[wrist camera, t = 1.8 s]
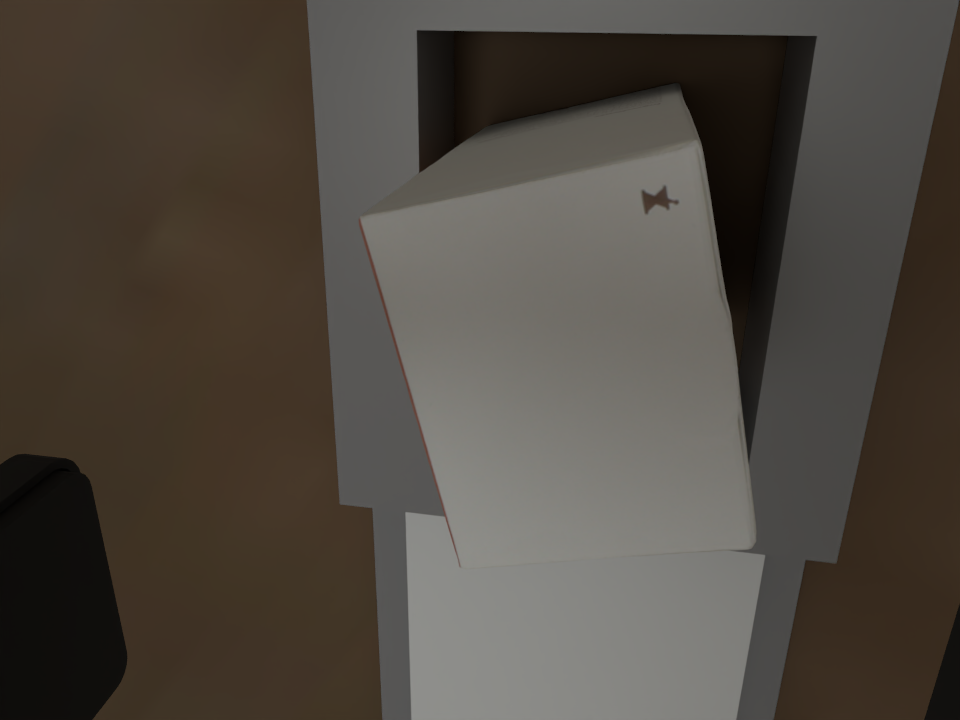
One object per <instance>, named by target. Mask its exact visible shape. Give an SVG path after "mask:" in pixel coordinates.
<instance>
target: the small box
mask: <svg viewBox="0 0 960 720" xmlns="http://www.w3.org/2000/svg"><path fill="white" fill-rule="evenodd" d="M359 226H360V230H361V233H362V237H363V240H364V243H365V247H366V250H367V254H368V257H369V260H370V264H371V267H372V271H373V274H374V277H375V281H376V284H377V287H378V290H379V294H380V297H381V300H382V304H383V307H384V311H385V314H386V318H387V321H388V325H389V328H390V332H391V335H392V338H393V342H394V345H395V349H396V352H397V356H398V359H399V363H400V366H401V369H402V372H403V376H404V379H405V382H406V385H407V388H408V392H409V396H410V400H411V404H412V407H413V411H414V414H415V417H416V420H417V423H418V426H419V430H420V434H421V438H422V442H423V445H424V448H425V452H426V455H427V458H428V462H429V465H430V467H431V471H432V474H433V478H434V482H435V485H436V488H437V492H438V495H439V498H440V502H441V505H442V508H443V512H444V515H445V519H446V522H447V525H448V529H449V532H450V536H451V539H452V542H453V546H454V549H455V552H456V555H457V558H458V563H459V567H461V568H463V569H478V568H490V567H504V566H517V565H528V564H540V563H554V562H567V561H580V560H592V559H605V558H617V557H633V556H649V555H664V554H680V553H696V552H712V551H729V550H748V549H752V548H753V546H754V544H755V543H756V520H755V512H754V503H753V495H752V487H751V478H750V470H749V462H748V453H747V445H746V437H745V429H744V420H743V412H742V403H741V395H740V386H739V377H738V367H737V358H736V351H735V344H734V337H733V329H732V319H731V314H730V310H729V306H728V302H727V298H726V292H725V286H724V280H723V275H722V268H721V262H720V255H719V249H718V242H717V236H716V229H715V223H714V216H713V209H712V203H711V196H710V190H709V184H708V178H707V172H706V165H705V159H704V153H703V149H702V144H701V141H700V138H699V136H698V133H697V130H696V128H695V125H694V123H693V119H692V117H691V114H690V112H689V110H688V108H687V106H686V104H685V102H684V99H683V95H682V91H681V87H680V84H679V83H673V84H669V85H664V86H660V87H655V88H651V89H647V90H642V91H638V92H634V93H629V94H625V95H621V96H616V97H612V98H608V99H603V100H599V101H595V102H590V103H586V104H582V105H577V106H573V107H569V108H564V109H560V110H555V111H551V112H546V113H542V114H537V115H533V116H528V117H524V118H519V119H515V120H510V121H506V122H502V123H497V124H493V125H489V126H486V127H485V128H483V129H482V130H481V131H479V132H478V133H476V134H475V135H473V136H472V137H470V138H469V139H467V140H466V141H464V142H463V143H461V144H460V145H458V146H457V147H455V148H454V149H453V150H451V151H450V152H449V153H447V154H446V155H444V156H443V157H442V158H441V159H439V160H438V161H436V162H435V163H434V164H432V165H430V166H429V167H427V168H426V169H425V170H423V171H422V172H420V173H419V174H417V175H416V176H415V177H413V178H412V179H411V180H410V181H408V182H407V183H406V184H404V185H403V186H401V187H400V188H399V189H397V190H396V191H394V192H393V193H391V194H390V195H388V196H387V197H386V198H384V199H383V200H382V201H380V202H379V203H378V204H376V205H375V206H373V207H372V208H371V209H369V210H368V211H367V212H366V213H364V214H363V215H362V216H360V218H359Z"/></svg>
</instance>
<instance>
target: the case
mask: <svg viewBox="0 0 960 720" xmlns="http://www.w3.org/2000/svg"><path fill="white" fill-rule="evenodd" d="M958 4H959V0H307V9H308V25H309V40H310V55H311V70H312V86H313V101H314V116H315V132H316V147H317V162H318V178H319V193H320V208H321V223H322V239H323V254H324V269H325V285H326V300H327V315H328V330H329V346H330V361H331V376H332V392H333V407H334V422H335V437H336V453H337V468H338V483H339V499H340V504H342V505H351V506H359V507H367V508H373V528H374V549H375V570H376V591H377V612H378V634H379V655H380V676H381V697H382V718H383V720H774V715H775V710H776V705H777V700H778V695H779V690H780V685H781V680H782V675H783V670H784V665H785V660H786V655H787V650H788V645H789V640H790V635H791V630H792V625H793V620H794V615H795V610H796V605H797V600H798V595H799V590H800V585H801V580H802V575H803V570H804V565H805V560H811V561H820V562H828V563H837V558H838V554H839V549H840V545H841V540H842V535H843V531H844V526H845V522H846V517H847V512H848V508H849V503H850V499H851V494H852V490H853V485H854V480H855V476H856V471H857V467H858V462H859V457H860V453H861V448H862V444H863V439H864V435H865V430H866V425H867V421H868V416H869V412H870V407H871V403H872V398H873V393H874V389H875V384H876V380H877V375H878V370H879V366H880V361H881V357H882V352H883V348H884V343H885V338H886V334H887V329H888V325H889V320H890V316H891V311H892V306H893V302H894V297H895V293H896V288H897V283H898V279H899V274H900V270H901V265H902V261H903V256H904V251H905V247H906V242H907V238H908V233H909V229H910V224H911V219H912V215H913V210H914V206H915V201H916V196H917V192H918V187H919V183H920V178H921V174H922V169H923V164H924V160H925V155H926V151H927V146H928V142H929V137H930V132H931V128H932V123H933V119H934V114H935V109H936V105H937V100H938V96H939V91H940V87H941V82H942V77H943V73H944V68H945V64H946V59H947V54H948V50H949V45H950V41H951V36H952V32H953V27H954V22H955V18H956V13H957V9H958ZM454 31H508V32H578V33H648V34H718V35H788V40H787V47H786V54H785V61H784V67H783V74H782V81H781V88H780V95H779V102H778V108H777V115H776V122H775V129H774V136H773V143H772V150H771V156H770V163H769V170H768V177H767V184H766V191H765V197H764V204H763V211H762V218H761V225H760V232H759V238H758V245H757V252H756V259H755V266H754V273H753V280H752V286H751V293H750V300H749V307H748V314H747V321H746V327H745V334H744V341H743V348H742V355H741V362H740V368H739V375H738V377H739V386H740V395H741V403H742V412H743V420H744V429H745V437H746V445H747V453H748V462H749V470H750V478H751V487H752V495H753V503H754V512H755V520H756V543H755V544H754V546H753V548H752V549H748V550H729V551H712V552H696V553H680V554H664V555H649V556H633V557H617V558H605V559H592V560H580V561H567V562H554V563H540V564H528V565H517V566H504V567H490V568H478V569H463V568H461V567H459V563H458V558H457V555H456V552H455V549H454V546H453V542H452V539H451V536H450V532H449V529H448V525H447V522H446V519H445V515H444V512H443V508H442V505H441V502H440V498H439V495H438V492H437V488H436V485H435V482H434V478H433V474H432V471H431V467H430V465H429V462H428V458H427V455H426V452H425V448H424V445H423V442H422V438H421V434H420V430H419V426H418V423H417V420H416V417H415V414H414V411H413V407H412V404H411V400H410V396H409V392H408V388H407V385H406V382H405V379H404V376H403V372H402V369H401V366H400V363H399V359H398V356H397V352H396V349H395V345H394V342H393V338H392V335H391V332H390V328H389V325H388V321H387V318H386V314H385V311H384V307H383V304H382V300H381V297H380V294H379V290H378V287H377V284H376V281H375V277H374V274H373V271H372V267H371V264H370V260H369V257H368V254H367V250H366V247H365V243H364V240H363V237H362V233H361V230H360V226H359V218H360V216H362V215H363V214H364V213H366V212H367V211H368V210H369V209H371V208H372V207H373V206H375V205H376V204H378V203H379V202H380V201H382V200H383V199H384V198H386V197H387V196H388V195H390V194H391V193H393V192H394V191H396V190H397V189H399V188H400V187H401V186H403V185H404V184H406V183H407V182H408V181H410V180H411V179H412V178H413V177H415V176H416V175H417V174H419V173H420V172H422V171H423V170H425V169H426V168H427V167H429V166H430V165H432V164H434V163H435V162H436V161H438V160H439V159H441V158H442V157H443V156H444V155H446V154H447V153H449V152H450V151H451V150H453V149H454Z"/></svg>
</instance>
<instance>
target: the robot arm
mask: <svg viewBox="0 0 960 720" xmlns="http://www.w3.org/2000/svg"><path fill="white" fill-rule="evenodd" d="M126 665H127V650H126V646H125V641H124V636H123V632H122V627H121V622H120V617H119V613H118V608H117V603H116V599H115V594H114V589H113V585H112V580H111V575H110V571H109V566H108V561H107V557H106V552H105V547H104V543H103V538H102V533H101V529H100V524H99V519H98V514H97V510H96V505H95V500H94V496H93V491H92V486H91V484H90V481H89V479H88V478H87V477H86V475H84V474H82V473H80V470H79V468H78V466H77V465H76V464H75V463H74V462H73V461H71V460H69V459H66V458H57V457H48V456H39V455H30V454H18V455H15V456H13V457H11V458H9V459H8V460H6V461H5V462H3V463H2V464H1V465H0V720H92V719H93V718H94V717H95V715H96V714H97V713H98V712H99V710H100V709H101V708H102V706H103V705H104V704H105V703H106V701H107V700H108V699H109V697H110V696H111V695H112V694H113V692H114V691H115V690H116V688H117V687H118V685H119V684H120V682H121V680H122V678H123V675H124V673H125V669H126ZM924 720H960V605H959V608H958V611H957V615H956V618H955V621H954V625H953V628H952V631H951V634H950V638H949V641H948V644H947V647H946V651H945V654H944V657H943V661H942V664H941V667H940V670H939V674H938V677H937V680H936V683H935V687H934V690H933V693H932V697H931V700H930V703H929V706H928V710H927V713H926V716H925V719H924Z"/></svg>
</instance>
